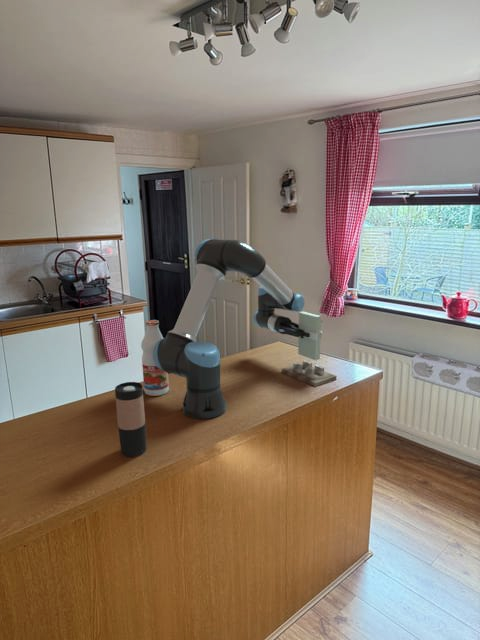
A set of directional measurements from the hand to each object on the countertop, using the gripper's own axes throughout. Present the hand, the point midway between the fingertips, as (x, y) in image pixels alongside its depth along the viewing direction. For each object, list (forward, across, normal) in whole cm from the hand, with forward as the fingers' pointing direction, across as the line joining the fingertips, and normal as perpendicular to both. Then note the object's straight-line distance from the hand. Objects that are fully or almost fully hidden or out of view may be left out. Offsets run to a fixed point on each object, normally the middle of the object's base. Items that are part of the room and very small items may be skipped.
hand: (319, 336), depth 173 cm
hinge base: (-5, 0, -18) cm, 19 cm away
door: (-5, 0, -10) cm, 11 cm away
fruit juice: (-30, +58, -18) cm, 67 cm away
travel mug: (+5, +82, -18) cm, 84 cm away
